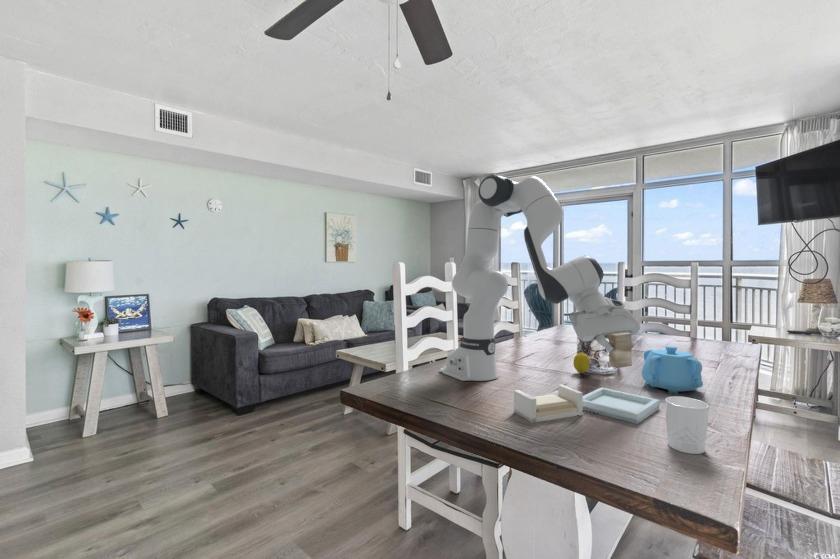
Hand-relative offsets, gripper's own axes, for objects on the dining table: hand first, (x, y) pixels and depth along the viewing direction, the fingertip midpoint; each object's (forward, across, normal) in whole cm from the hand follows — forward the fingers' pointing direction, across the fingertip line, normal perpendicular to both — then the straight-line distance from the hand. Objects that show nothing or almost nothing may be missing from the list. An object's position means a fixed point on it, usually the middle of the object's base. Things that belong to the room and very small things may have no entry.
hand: (621, 348), depth 111 cm
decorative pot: (+6, +29, +19) cm, 36 cm away
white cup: (+28, -7, -5) cm, 30 cm away
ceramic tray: (+12, -2, +12) cm, 17 cm away
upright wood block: (+3, 0, +4) cm, 5 cm away
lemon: (-11, +15, +36) cm, 40 cm away
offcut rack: (+9, -22, +14) cm, 28 cm away
